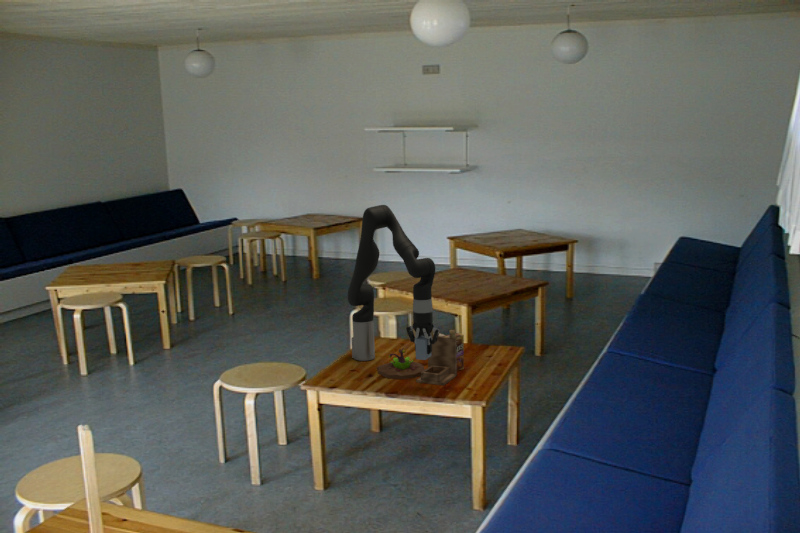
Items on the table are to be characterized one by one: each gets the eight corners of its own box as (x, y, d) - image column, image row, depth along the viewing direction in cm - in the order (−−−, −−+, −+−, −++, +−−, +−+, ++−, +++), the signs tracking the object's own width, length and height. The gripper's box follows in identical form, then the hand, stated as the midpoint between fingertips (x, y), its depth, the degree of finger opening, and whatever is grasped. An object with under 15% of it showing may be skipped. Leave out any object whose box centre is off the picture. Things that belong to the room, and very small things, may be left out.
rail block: (415, 359, 289) (415, 339, 288) (422, 354, 296) (422, 334, 294) (425, 360, 288) (424, 339, 286) (432, 355, 294) (431, 335, 293)
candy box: (447, 373, 311) (446, 337, 308) (441, 371, 314) (440, 335, 312) (464, 369, 316) (464, 334, 313) (458, 367, 319) (457, 332, 317)
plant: (386, 383, 302) (385, 356, 300) (372, 370, 320) (371, 344, 318) (433, 376, 308) (432, 350, 307) (416, 364, 327) (415, 339, 325)
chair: (416, 382, 300) (414, 336, 298) (430, 372, 313) (429, 327, 310) (444, 385, 295) (443, 338, 292) (457, 375, 308) (456, 330, 305)
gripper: (401, 310, 288) (403, 354, 291) (436, 313, 282) (437, 357, 285) (409, 306, 295) (410, 349, 297) (443, 309, 289) (444, 352, 291)
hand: (423, 352), depth 291 cm, fingers closed on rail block, 4 cm apart
